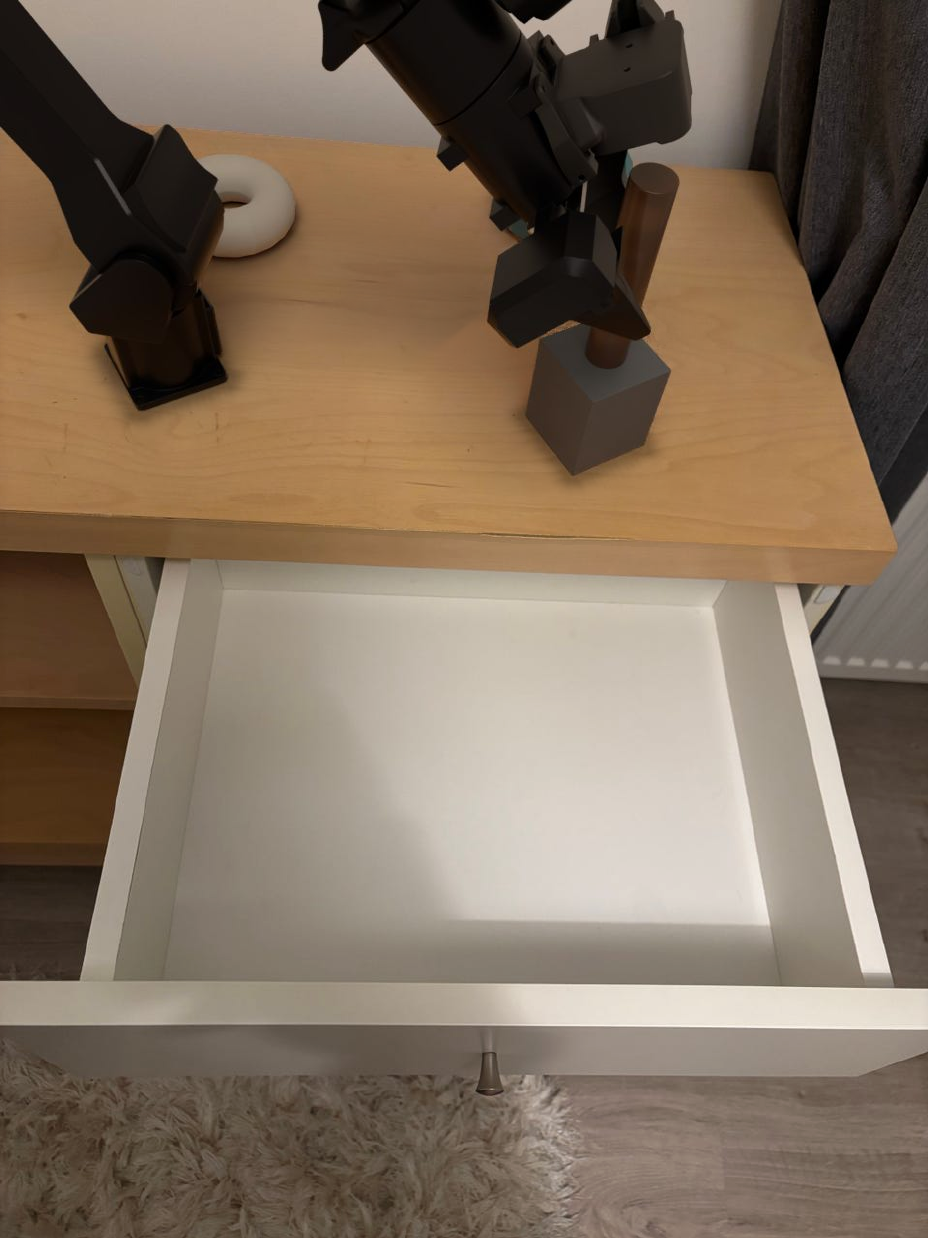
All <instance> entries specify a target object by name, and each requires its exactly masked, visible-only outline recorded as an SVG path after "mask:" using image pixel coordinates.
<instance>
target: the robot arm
mask: <svg viewBox="0 0 928 1238" xmlns="http://www.w3.org/2000/svg"><path fill="white" fill-rule="evenodd" d="M571 2H573V0H318V2H317V10H318V14H319V16H320V21H321V30H322V49H321V50H322V51H321V64H322V67H323V69H324V70H325V71H327V72H335V71H336V70H338V69H339V68H340V67H341V66H342V65H343V64H344V63H345V62H347V60H349V59H350V58H351V57H352V56H353V55H354V54H355V53H356V52H357V51H358V50H359V49H360V48H362V47H363V46H365V47H366V48H367V49H368V50H369V52H370V53H371V54H372V55H373V56H374V58H375V59H376V60H377V61H378V63H379V64H380V65H381V66H382V68H384V70H385V71H386V72H387V73H388V74H389V75H390V77H391V78H392V80H394V81H395V83H396V84H397V85H398V86H399V88H401V90H402V91H403V92H404V93H405V94H406V96H407V97H408V98H409V99H410V100H411V102H413V104H414V105H415V106H416V107H417V108H418V110H419V111H420V112H421V114H422V115H424V117H425V118H426V120H427V121H428V122H429V123H430V125H431V126H432V127H433V128H434V130H436V132H437V133H438V134H439V135H440V139H439V144H438V148H437V152H436V155H435V157H436V158H437V160H439V161H440V163H441V164H442V165H443V166H444V167H445V169H446V170H447V171H448V172H449V173H451V172H452V171H453V170H455V169H456V168H457V167H458V166H460V165H462V164H463V163H464V165H465V166H466V167H467V168H468V170H469V171H470V172H471V174H472V175H473V176H474V177H475V178H476V179H477V180H478V181H479V183H480V184H481V185H482V187H483V188H484V189H485V191H487V192H488V193H489V195H490V196H491V197H492V199H491V200H492V201H491V206H490V211H489V215H488V219H490V221H491V222H492V223H493V225H494V226H496V228H497V229H498V230H499V231H500V232H503V231H504V230H506V229H509V228H508V227H509V226H511V225H512V224H514V223H515V222H517V221H518V220H520V219H522V220H523V221H524V223H527V227H526V230H527V232H528V233H529V234H530V235H529V236H528V237H526V238H524V239H521V240H519V241H518V242H517V243H515V244H513V245H512V246H510V247H509V248H507V249H506V250H504V251H502V252H501V253H498V255H497V257H496V262H495V268H494V273H493V280H492V283H491V290H490V296H489V303H488V309H487V317H486V323H487V324H488V325H489V326H490V327H491V328H492V329H493V330H494V331H495V332H496V333H497V334H498V335H499V336H500V337H501V338H502V339H503V341H504V342H505V343H506V344H507V345H508V346H510V347H512V348H514V349H516V350H518V349H519V348H520V349H521V348H522V347H524V346H525V345H528V344H529V343H531V342H533V341H535V340H536V339H539V338H541V337H542V336H543V335H546V334H547V333H549V332H551V331H554V330H555V329H557V328H558V327H560V326H563V325H564V324H566V323H567V322H570V321H571V322H575V323H578V324H580V323H581V324H585V325H588V326H591V327H594V328H597V329H600V330H603V331H606V332H609V333H612V334H615V335H618V336H621V337H624V338H627V339H630V340H633V341H637V340H640V339H642V338H643V339H644V338H646V337H648V336H649V335H650V334H651V332H652V327H651V324H650V322H649V320H648V317H647V316H646V314H645V312H644V310H643V308H641V306H640V305H639V303H638V301H637V299H636V297H635V296H634V294H633V292H632V290H631V288H630V287H629V285H628V283H627V281H626V279H625V278H624V276H623V274H622V272H621V271H620V269H619V267H620V264H621V257H622V243H623V226H620V227H619V228H617V229H616V225H617V221H618V217H619V213H620V209H621V205H622V201H623V197H624V193H625V189H626V185H627V181H628V178H627V175H626V172H625V169H624V165H625V161H626V156H627V152H628V153H629V150H632V149H636V148H640V147H643V146H647V145H651V144H655V143H656V144H658V145H662V146H663V145H667V144H670V143H674V142H676V141H678V140H680V139H682V138H683V137H684V136H686V135H687V134H688V133H689V131H690V130H691V129H692V125H693V118H692V116H693V115H692V95H693V86H692V80H691V73H690V68H689V67H690V66H689V62H688V61H689V60H688V54H687V49H686V47H687V46H686V43H685V42H686V41H685V29H684V26H683V24H682V22H681V21H680V20H678V19H676V16H675V10H674V9H671V10H668V11H665V12H664V11H663V9H662V8H661V6H660V5H659V4H658V3H657V1H655V0H611V3H610V8H609V11H608V16H607V21H606V25H605V28H604V29H605V30H604V35H603V38H601V39H600V38H599V37H600V36H599V34H598V33H595V34H592V35H590V36H589V42H588V45H587V46H586V47H584V48H581V49H577V50H576V51H574V52H571V53H568V54H565V52H564V51H563V50H562V49H561V48H560V47H559V45H558V43H557V42H556V41H555V40H554V38H553V37H552V36H551V34H549V33H548V34H546V35H545V36H544V34H543V33H542V31H541V30H540V29H537V30H536V31H535V32H534V33H533V34H531V35H530V36H528V38H527V37H526V35H525V34H524V32H523V31H522V29H521V28H520V26H518V24H517V23H516V21H515V19H516V20H518V22H520V23H521V24H523V25H526V24H527V23H528V22H529V21H531V20H532V19H533V18H535V19H536V20H539V21H543V22H544V21H549V20H550V19H551V18H553V16H555V15H556V14H558V13H559V12H560V11H561V10H563V9H564V8H565V7H567V5H569V4H570V3H571ZM511 15H512V16H513V17H514V18H515V19H513V17H512V16H511ZM0 129H1V130H2V131H3V132H4V133H5V134H6V135H7V137H8V138H10V139H11V140H12V141H13V142H14V143H15V145H16V146H18V147H19V150H21V151H22V152H23V153H24V154H25V155H26V156H27V157H28V158H29V159H30V161H32V163H34V165H35V166H36V167H37V168H38V169H39V170H40V171H41V172H42V173H43V175H45V177H46V178H47V180H48V181H49V182H50V184H51V186H52V189H53V191H54V193H55V194H54V195H55V196H56V199H57V201H58V204H59V207H60V210H61V213H62V215H63V217H64V218H63V219H64V220H65V223H66V225H67V228H68V231H69V234H70V236H71V239H72V241H73V244H74V245H75V247H77V249H78V250H79V252H81V254H82V256H83V257H84V258H85V259H86V261H87V262H88V263H89V267H88V269H87V270H86V272H85V274H84V276H83V277H82V280H81V281H80V284H79V285H78V287H77V290H76V291H75V292H74V295H73V297H72V298H71V300H70V303H69V304H68V307H69V310H70V311H71V313H72V314H73V315H74V316H75V318H76V319H77V320H78V322H79V323H80V324H81V325H82V327H83V328H84V329H85V330H86V331H87V332H88V333H89V334H92V335H97V336H98V335H99V336H104V338H105V340H106V343H105V344H104V346H103V347H104V350H105V353H106V356H107V357H108V359H109V361H110V363H111V364H112V366H113V369H114V370H115V372H116V374H117V376H118V377H119V379H120V382H121V383H122V385H123V387H124V389H125V391H126V392H127V394H128V396H129V398H130V399H131V403H132V404H133V406H134V407H135V409H137V410H146V409H149V408H152V407H155V406H158V405H160V404H163V403H167V402H169V401H172V400H174V399H178V398H181V397H184V396H186V395H190V394H193V393H195V392H198V391H200V390H204V389H206V388H209V387H213V386H215V385H218V384H221V383H225V382H226V380H227V378H228V374H227V371H226V368H225V367H224V365H223V363H222V362H221V360H220V359H219V357H218V356H222V354H223V347H222V340H221V337H220V331H219V327H218V321H217V316H216V313H215V312H216V311H215V308H214V306H213V304H212V303H211V301H210V299H209V297H207V296H208V295H207V294H206V293H205V291H204V290H203V288H202V287H201V284H202V281H203V279H204V277H205V274H206V272H207V270H208V267H209V266H210V265H209V264H210V262H211V260H212V257H213V256H214V255H213V253H214V251H215V248H216V246H217V244H218V241H219V239H220V236H221V234H222V232H223V228H224V213H225V209H226V208H225V207H224V202H222V201H221V199H220V197H219V195H218V194H217V192H216V190H215V186H216V184H217V182H218V178H217V177H216V176H214V175H213V174H212V173H210V172H209V171H207V170H206V169H205V168H204V167H203V166H202V165H201V164H200V163H199V162H198V161H197V158H196V157H195V156H194V155H193V154H192V151H191V150H190V149H189V147H188V145H187V144H186V142H185V140H184V138H183V137H182V135H181V134H180V132H179V131H178V130H176V129H175V128H174V127H173V126H172V125H171V124H168V123H165V124H163V125H162V126H161V127H160V128H159V129H158V130H157V131H156V132H155V133H154V134H151V133H149V132H147V131H145V130H143V129H140V128H139V127H136V126H134V125H133V124H131V123H129V122H126V121H125V120H122V119H120V118H119V117H118V116H117V115H115V114H114V112H112V111H111V110H110V108H108V106H107V105H106V104H105V102H104V101H103V100H102V99H101V98H100V96H99V95H98V94H97V93H96V91H95V90H94V89H93V88H92V87H91V86H90V85H89V83H88V82H87V81H86V80H85V78H84V77H83V76H82V75H81V73H79V71H78V70H77V69H76V68H75V67H74V65H73V64H72V63H71V61H70V60H69V59H68V58H67V57H66V56H65V55H64V53H63V52H62V50H60V48H59V47H58V46H57V45H56V43H55V42H54V41H53V40H52V39H51V37H50V36H49V35H48V34H47V32H45V30H44V29H43V28H42V27H41V26H40V24H39V23H38V22H37V21H36V20H35V19H34V17H33V16H32V15H31V13H30V12H29V11H28V10H27V9H26V8H25V6H24V5H23V4H22V3H21V2H20V1H19V0H0Z"/></svg>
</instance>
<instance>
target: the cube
mask: <svg viewBox="0 0 928 1238" xmlns="http://www.w3.org/2000/svg"><path fill="white" fill-rule="evenodd" d="M590 328H591V326H588V325H585V324H581V323H578V324H575V325H572V326H570V327H567V328H565V329H562V330H559V331H557V332H554V333H551V334H548V335H545V336H543V337H539V341H538V346H537V351H536V355H535V361H534V366H533V372H532V378H531V382H530V388H529V393H528V398H527V403H526V409H525V413H524V415H525V417H526V418H527V420H528V421H529V422H530V424H531V425H532V426H533V428H534V429H535V430H536V431H537V433H538V434H539V435H540V437H542V439H543V441H544V442H545V443H546V444H547V446H548V447H549V448H550V449H551V450H552V452H553V453H554V454H555V456H556V457H557V458H558V459H559V461H560V462H561V463H562V464H563V466H564V467H565V468H566V470H568V472H569V473H570V475H571V476H575V475H578V474H580V473H582V472H585V471H587V470H590V469H592V468H594V467H596V466H599V465H601V464H603V463H605V462H608V461H611V460H613V459H615V458H617V457H619V456H622V455H624V454H626V453H628V452H631V451H633V450H636V449H639V448H640V447H642V446H644V445H645V443H646V441H647V438H648V436H649V433H650V430H651V427H652V424H653V421H654V419H655V417H656V413H657V411H658V408H659V406H660V403H661V400H662V398H663V394H664V392H665V390H666V386H667V384H668V381H669V379H670V376H671V373H672V369H671V368H670V367H669V366H668V364H666V362H664V360H663V359H662V358H661V357H660V356H659V355H658V353H657V352H656V351H655V350H654V349H653V348H652V347H651V346H650V345H649V344H648V342H646V340H645V339H644V338H642V339H640V340H637V341H633V340H631V344H630V347H629V350H628V354H627V357H626V360H625V362H624V363H623V364H622V365H621V366H619V367H617V368H613V369H604V368H600V367H597V366H595V365H594V364H592V363H591V362H590V361H589V360H588V359H587V357H586V354H585V348H586V344H587V340H588V336H589V332H590Z"/></svg>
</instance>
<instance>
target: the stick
mask: <svg viewBox="0 0 928 1238" xmlns="http://www.w3.org/2000/svg"><path fill="white" fill-rule="evenodd" d="M679 188H680V177H679V175H678V174H677V172H676V171H675V170H673V169H672V168H671V167H669V166H668V165H666V164H662V163H658V162H653V161H651V162H650V161H647V162H641V163H638V164H636V165H633V168H632V169H631V171H630V173H629V177H628V181H627V185H626V189H625V193H624V197H623V201H622V205H621V209H620V213H619V217H618V221H617V225H616V229H617V228H619V227H620V226H623V243H622V257H621V264H620V267H619V269H620V271H621V272H622V274H623V276H624V278H625V279H626V281H627V283H628V285H629V287H630V288H631V290H632V292H633V294H634V296H635V297H636V299H637V301H638V303H639V305H640V306H641V308H642V307H643V304H644V301H645V299H646V294H647V291H648V288H649V286H650V281H651V279H652V276H653V275H652V274H653V272H654V268H655V266H656V262H657V259H658V256H659V252H660V250H661V245H662V244H663V243H662V242H663V239H664V236H665V234H666V230H667V226H668V223H669V219H670V217H671V213H672V209H673V206H674V203H675V200H676V196H677V194H678V190H679ZM642 309H643V308H642ZM630 344H631V340H630V339H627V338H624V337H621V336H618V335H615V334H612V333H609V332H606V331H603V330H600V329H597V328H594V327H591V328H590V332H589V336H588V340H587V344H586V348H585V354H586V357H587V359H588V360H589V361H590V362H591V363H592V364H594V365H595V366H597V367H600V368H604V369H613V368H617V367H619V366H621V365H622V364H623V363H624V362H625V360H626V357H627V354H628V350H629V347H630Z"/></svg>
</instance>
